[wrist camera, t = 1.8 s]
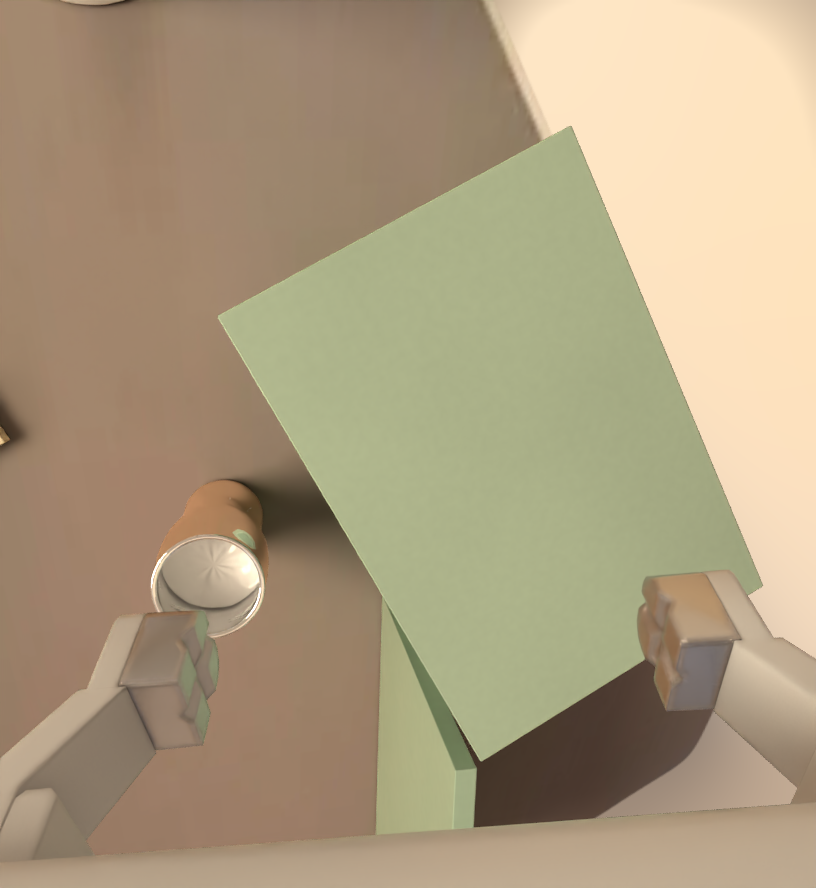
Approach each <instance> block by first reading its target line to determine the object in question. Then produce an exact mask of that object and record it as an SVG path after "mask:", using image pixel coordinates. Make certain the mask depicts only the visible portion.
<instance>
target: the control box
mask: <svg viewBox="0 0 816 888" xmlns="http://www.w3.org/2000/svg"><path fill="white" fill-rule="evenodd" d="M9 440H10V438H9V437H8V436H7V434H6V433H5V431H4V430H3V429H2V427H1V426H0V445H2V444H4V443H5V442H7V441H9Z"/></svg>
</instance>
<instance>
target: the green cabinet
mask: <svg viewBox="0 0 816 888" xmlns="http://www.w3.org/2000/svg"><path fill="white" fill-rule="evenodd" d="M218 319H219V321H220V322H221V324H222V326H223V327H224V329H225V331H226V332H227V334H228V336H229V337H230V339H231V341H232V343H233V344H234V346H235V348H236V349H237V351H238V353H239V354H240V356H241V358H242V359H243V361H244V363H245V364H246V366H247V368H248V370H249V371H250V373H251V375H252V376H253V378H254V380H255V381H256V383H257V385H258V386H259V388H260V390H261V392H262V393H263V395H264V397H265V398H266V400H267V402H268V403H269V405H270V407H271V408H272V410H273V412H274V413H275V415H276V417H277V419H278V420H279V422H280V424H281V425H282V427H283V429H284V430H285V432H286V434H287V435H288V437H289V439H290V440H291V442H292V444H293V446H294V447H295V449H296V451H297V452H298V454H299V456H300V457H301V459H302V461H303V462H304V464H305V466H306V468H307V469H308V471H309V473H310V474H311V476H312V478H313V479H314V481H315V483H316V484H317V486H318V488H319V489H320V491H321V493H322V495H323V496H324V498H325V500H326V501H327V503H328V505H329V506H330V508H331V510H332V511H333V513H334V515H335V516H336V518H337V520H338V522H339V523H340V525H341V527H342V528H343V530H344V532H345V533H346V535H347V537H348V538H349V540H350V542H351V544H352V545H353V547H354V549H355V550H356V552H357V554H358V555H359V557H360V559H361V560H362V562H363V564H364V565H365V567H366V569H367V571H368V572H369V574H370V576H371V577H372V579H373V581H374V582H375V584H376V586H377V587H378V589H379V591H380V593H381V594H382V596H383V598H384V599H385V601H386V603H387V604H388V606H389V608H390V609H391V611H392V613H393V614H394V616H395V618H396V620H397V621H398V623H399V625H400V626H401V628H402V630H403V631H404V633H405V635H406V636H407V638H408V640H409V641H410V643H411V645H412V647H413V648H414V650H415V652H416V653H417V655H418V657H419V658H420V660H421V662H422V663H423V665H424V667H425V669H426V670H427V672H428V674H429V675H430V677H431V679H432V680H433V682H434V684H435V685H436V687H437V689H438V690H439V692H440V694H441V696H442V697H443V699H444V701H445V702H446V704H447V706H448V707H449V709H450V711H451V712H452V714H453V716H454V718H455V719H456V721H457V723H458V724H459V726H460V728H461V729H462V731H463V733H464V734H465V736H466V738H467V739H468V741H469V743H470V745H471V746H472V748H473V750H474V751H475V753H476V755H477V756H478V758H479V760H480V761H483V760H485V759H487V758H488V757H490V756H491V755H493V754H495V753H496V752H498V751H499V750H501V749H503V748H504V747H506V746H507V745H509V744H511V743H512V742H514V741H515V740H517V739H519V738H520V737H522V736H523V735H525V734H527V733H528V732H530V731H531V730H533V729H535V728H536V727H538V726H539V725H541V724H543V723H544V722H546V721H547V720H549V719H551V718H552V717H554V716H555V715H557V714H559V713H560V712H562V711H563V710H565V709H567V708H568V707H570V706H571V705H573V704H575V703H576V702H578V701H579V700H581V699H583V698H584V697H586V696H588V695H589V694H591V693H592V692H594V691H596V690H597V689H599V688H600V687H602V686H604V685H605V684H607V683H608V682H610V681H612V680H613V679H615V678H616V677H618V676H620V675H621V674H623V673H624V672H626V671H628V670H629V669H631V668H632V667H634V666H636V665H637V664H639V663H640V662H642V661H644V660H645V657H644V655H643V652H642V649H641V647H640V643H639V639H638V632H637V615H638V608H639V607H640V606H641V605H642V604H644V603H645V602H646V601H645V599H644V596H643V594H642V592H641V590H642V585H643V581H644V579H645V578H646V576H655V575H667V574H679V573H691V572H704V571H716V570H728V569H729V570H730V571H732V572H733V573H734V574H735V576H736V577H737V579H738V581H739V582H740V584H741V586H742V587H743V589H744V590H745V592H746V594H747V595H749V594H751V593H753V592H754V591H756V590H757V589H759V588H760V587H762V586H763V584H762V582H761V579H760V577H759V574H758V572H757V570H756V567H755V565H754V562H753V560H752V558H751V555H750V553H749V551H748V548H747V546H746V544H745V541H744V539H743V536H742V534H741V531H740V529H739V527H738V524H737V522H736V519H735V517H734V515H733V512H732V510H731V507H730V505H729V503H728V500H727V498H726V495H725V493H724V491H723V488H722V486H721V483H720V481H719V479H718V476H717V474H716V472H715V469H714V467H713V464H712V462H711V460H710V457H709V455H708V452H707V450H706V448H705V445H704V443H703V440H702V438H701V435H700V433H699V431H698V428H697V426H696V424H695V421H694V419H693V416H692V414H691V412H690V409H689V407H688V404H687V402H686V400H685V397H684V395H683V392H682V390H681V388H680V385H679V383H678V380H677V378H676V376H675V373H674V371H673V368H672V366H671V364H670V361H669V359H668V356H667V354H666V352H665V349H664V347H663V344H662V342H661V340H660V337H659V335H658V332H657V330H656V328H655V325H654V323H653V320H652V318H651V316H650V313H649V311H648V308H647V306H646V304H645V301H644V299H643V296H642V294H641V292H640V289H639V287H638V284H637V282H636V280H635V277H634V275H633V272H632V270H631V268H630V265H629V263H628V260H627V258H626V256H625V253H624V251H623V249H622V247H621V244H620V241H619V239H618V236H617V234H616V232H615V229H614V227H613V225H612V222H611V220H610V217H609V215H608V213H607V210H606V208H605V205H604V203H603V201H602V198H601V196H600V193H599V191H598V189H597V186H596V184H595V181H594V179H593V177H592V174H591V172H590V169H589V167H588V165H587V162H586V160H585V157H584V155H583V153H582V150H581V148H580V145H579V143H578V141H577V138H576V136H575V133H574V131H573V129H572V126H569V127H567V128H565V129H563V130H562V131H560V132H558V133H556V134H554V135H552V136H550V137H548V138H546V139H545V140H543V141H541V142H539V143H537V144H535V145H533V146H532V147H530V148H528V149H526V150H524V151H522V152H521V153H519V154H517V155H515V156H513V157H511V158H509V159H508V160H506V161H504V162H502V163H500V164H498V165H496V166H495V167H493V168H491V169H489V170H487V171H485V172H483V173H482V174H480V175H478V176H476V177H474V178H472V179H470V180H469V181H467V182H465V183H463V184H461V185H459V186H457V187H456V188H454V189H452V190H450V191H448V192H446V193H444V194H443V195H441V196H439V197H437V198H435V199H433V200H431V201H430V202H428V203H426V204H424V205H422V206H420V207H418V208H417V209H415V210H413V211H411V212H409V213H407V214H406V215H404V216H402V217H400V218H398V219H396V220H394V221H393V222H391V223H389V224H387V225H385V226H383V227H381V228H380V229H378V230H376V231H374V232H372V233H370V234H368V235H367V236H365V237H363V238H361V239H359V240H357V241H355V242H354V243H352V244H350V245H348V246H346V247H344V248H342V249H341V250H339V251H337V252H335V253H333V254H331V255H329V256H328V257H326V258H324V259H322V260H320V261H318V262H316V263H315V264H313V265H311V266H309V267H307V268H305V269H304V270H302V271H300V272H298V273H296V274H294V275H292V276H291V277H289V278H287V279H285V280H283V281H281V282H279V283H278V284H276V285H274V286H272V287H270V288H268V289H266V290H265V291H263V292H261V293H259V294H257V295H255V296H253V297H252V298H250V299H248V300H246V301H244V302H242V303H240V304H239V305H237V306H235V307H233V308H231V309H229V310H227V311H226V312H224V313H222V314H220V315H218Z"/></svg>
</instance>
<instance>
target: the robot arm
mask: <svg viewBox="0 0 816 888" xmlns="http://www.w3.org/2000/svg"><path fill="white" fill-rule="evenodd" d="M61 1H64V2H69V3H74V4H81V5H104V4H111V3H116V2H120V1H123V0H61ZM641 592H642V594H643V596H644V599H645V601H646V602H645V603H644V604H642V605H641V606H640V607H639V608H638V615H637V632H638V639H639V643H640V647H641V649H642V652H643V655H644V657H645V659H646V660H647V661H648V662H650V663H651V664H652V665H654V666H655V667H656V668H655V673H654V679H653V680H654V683H655V685H656V687H657V690H658V692H659V695H660V697H661V700H662V702H663V705H664V707H665V710H666V711H679V710H700V709H714V712H715V713H716V714H717V715H718V716H719V717H720V718H722V719H723V720H724V721H725V722H726V723H727V724H728V725H729V726H730V727H731V728H732V729H734V730H735V731H736V732H737V733H738V734H739V735H740V736H741V737H742V738H743V739H745V740H746V741H747V742H748V743H749V744H750V745H751V746H752V747H753V748H754V749H755V750H756V751H758V752H759V753H760V754H761V755H762V756H763V757H764V758H765V759H766V760H768V762H770V763H771V764H772V765H773V766H774V767H775V768H776V769H777V770H778V771H779V772H781V773H782V774H783V775H784V776H785V777H786V778H787V779H788V780H789V781H790V782H791V783H793V784H794V785H795V786H796V787H797V791H796V793H795V795H794V797H793V799H792V802H791V804H785V805H771V806H758V807H744V808H732V809H731V808H730V809H717V810H703V811H690V812H677V813H663V814H649V815H636V816H622V817H609V818H595V819H582V820H569V821H555V822H542V823H529V824H515V825H502V826H488V827H475V828H461V829H448V830H434V831H421V832H407V833H393V834H380V835H366V836H353V837H339V838H325V839H312V840H298V841H285V842H271V843H257V844H244V845H230V846H217V847H203V848H190V849H176V850H162V851H149V852H135V853H122V854H108V855H95V854H94V852H93V851H92V849H91V848H90V846H89V845H88V843H87V841H86V840H87V839H88V837H89V836H90V835H91V834H92V832H93V831H94V830H95V829H96V827H97V826H98V825H99V824H100V822H101V821H102V820H103V819H104V817H105V816H106V815H107V814H108V812H109V811H110V810H111V809H112V807H113V806H114V805H115V804H116V802H117V801H118V800H119V799H120V797H121V796H122V795H123V794H124V793H125V791H126V790H127V789H128V788H129V786H130V785H131V784H132V783H133V781H134V780H135V779H136V778H137V776H138V775H139V774H140V773H141V771H142V770H143V769H144V768H145V766H146V765H147V764H148V763H149V761H150V760H151V759H152V758H153V756H154V755H155V754H156V751H155V750H163V749H173V748H183V747H193V746H202V745H203V743H204V739H205V735H206V730H207V726H208V722H209V717H210V713H211V712H210V709H209V706H208V704H207V701H206V700H207V699H208V698H209V697H210V696H211V695H212V694H213V693H214V692H215V691H216V686H217V681H218V671H219V658H218V651H217V647H216V643H215V640H214V639H212V638H211V637H209V636H208V635H207V630H208V626H209V622H208V619H207V617H206V614H205V612H204V611H201V610H194V611H174V612H154V613H143V614H124V615H120V616H119V617H118V618H117V619H116V620H115V622H114V623H113V626H112V628H111V631H110V633H109V636H108V638H107V640H106V643H105V645H104V648H103V650H102V653H101V655H100V658H99V660H98V662H97V665H96V667H95V670H94V672H93V675H92V677H91V679H90V682H89V684H88V687H87V689H82V690H78V691H77V692H75V693H74V694H73V695H72V696H71V697H70V698H69V699H67V700H66V701H65V702H64V703H63V704H62V705H61V706H59V707H58V708H57V709H56V710H55V711H54V712H53V713H51V714H50V715H49V716H48V717H47V718H46V719H45V720H43V721H42V722H41V723H40V724H39V725H38V726H37V727H35V728H34V729H33V730H32V731H31V732H30V733H29V734H27V735H26V736H25V737H24V738H23V739H22V740H21V741H19V742H18V743H17V744H16V745H15V746H14V747H13V748H11V749H10V750H9V751H8V752H7V753H6V754H4V755H3V756H2V757H1V758H0V888H816V659H815V658H814V657H812V656H810V655H809V654H807V653H806V652H804V651H803V650H801V649H799V648H798V647H796V646H795V645H793V644H792V643H790V642H788V641H787V640H785V639H784V638H773V636H772V634H771V633H770V631H769V629H768V628H767V626H766V625H765V623H764V621H763V620H762V618H761V616H760V615H759V613H758V612H757V610H756V608H755V607H754V605H753V603H752V602H751V600H750V599H749V597H748V595H747V594H746V592H745V590H744V589H743V587H742V586H741V584H740V582H739V581H738V579H737V577H736V576H735V574H734V573H733V572H732V571H730V570H729V569H728V570H716V571H704V572H691V573H679V574H667V575H655V576H646V578H645V579H644V581H643V585H642V590H641Z"/></svg>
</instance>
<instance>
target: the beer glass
mask: <svg viewBox="0 0 816 888" xmlns="http://www.w3.org/2000/svg"><path fill="white" fill-rule="evenodd" d="M262 521H263V512H262V507H261V504H260V502H259V500H258V498H257V497H256V495H255V494H254V493H253V492H252V491H251V490H250V489H249V488H247V487H246V486H244V485H243V484H240V483H238V482H235V481H230V480H218V481H213V482H210V483H207V484H205V485H203V486H201V487H200V488H199V489H197V490H196V491H195V492H194V493H193V494H192V495H191V497H190V498H189V500H188V502H187V504H186V507H185V510H184V515H183V516H182V517H181V518H180V519H179V520H178V521H177V522H176V523H175V524H174V525H173V526H172V527H171V529H170V530H169V532H168V533H167V535H166V537H165V539H164V540H163V542H162V544H161V547H160V549H159V552H158V555H157V558H156V563H155V567H154V571H153V574H152V578H151V598H152V602H153V605H154V607H155V609H156V611H157V612H174V611H194V610H201V611H204V612H205V614H206V617H207V619H208V622H209V626H208V630H207V635H208V636H209V637H211V638H212V639H214V638H220V637H224V636H227V635H230V634H232V633H234V632H236V631H238V630H239V629H241V628H242V627H244V626H245V625H246V624H247V623H248V622H249V621H250V620H251V619H252V618H253V617H254V616H255V614H256V613H257V611H258V610H259V608H260V606H261V604H262V601H263V598H264V594H265V586H266V582H267V577H268V567H269V557H268V548H267V543H266V540H265V537H264V535H263V532H262V530H261V526H262Z"/></svg>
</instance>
